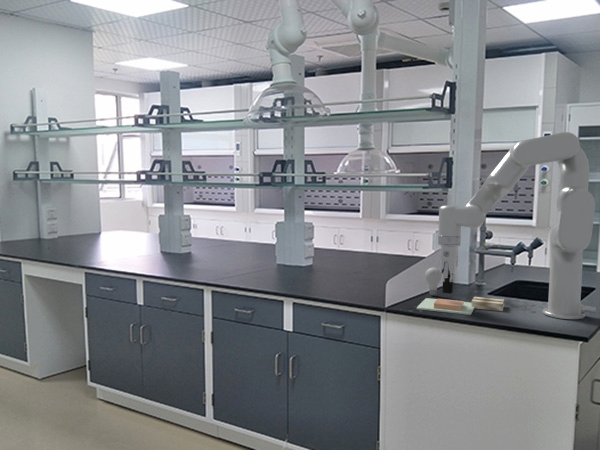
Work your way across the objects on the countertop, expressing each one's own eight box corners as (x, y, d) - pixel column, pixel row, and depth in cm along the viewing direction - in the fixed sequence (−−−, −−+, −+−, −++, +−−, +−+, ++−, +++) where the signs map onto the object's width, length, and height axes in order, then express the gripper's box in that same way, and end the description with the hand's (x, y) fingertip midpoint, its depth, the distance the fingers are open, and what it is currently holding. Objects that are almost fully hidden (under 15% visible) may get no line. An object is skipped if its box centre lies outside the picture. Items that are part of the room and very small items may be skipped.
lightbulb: (422, 296, 206) (423, 267, 205) (428, 293, 211) (428, 265, 210) (437, 298, 202) (438, 269, 201) (443, 295, 207) (444, 267, 206)
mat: (476, 304, 192) (476, 303, 192) (470, 315, 178) (470, 313, 178) (426, 299, 200) (426, 298, 200) (416, 309, 185) (416, 307, 185)
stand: (503, 306, 190) (504, 299, 190) (502, 311, 183) (502, 304, 183) (473, 303, 194) (474, 296, 194) (471, 307, 187) (471, 300, 187)
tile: (438, 298, 192) (464, 301, 188) (437, 302, 192) (463, 305, 188) (433, 303, 184) (460, 306, 181) (433, 307, 185) (460, 310, 181)
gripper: (457, 243, 178) (455, 298, 180) (463, 239, 192) (461, 289, 193) (434, 242, 181) (432, 295, 183) (442, 238, 195) (440, 287, 196)
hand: (447, 292), depth 188 cm, fingers closed
